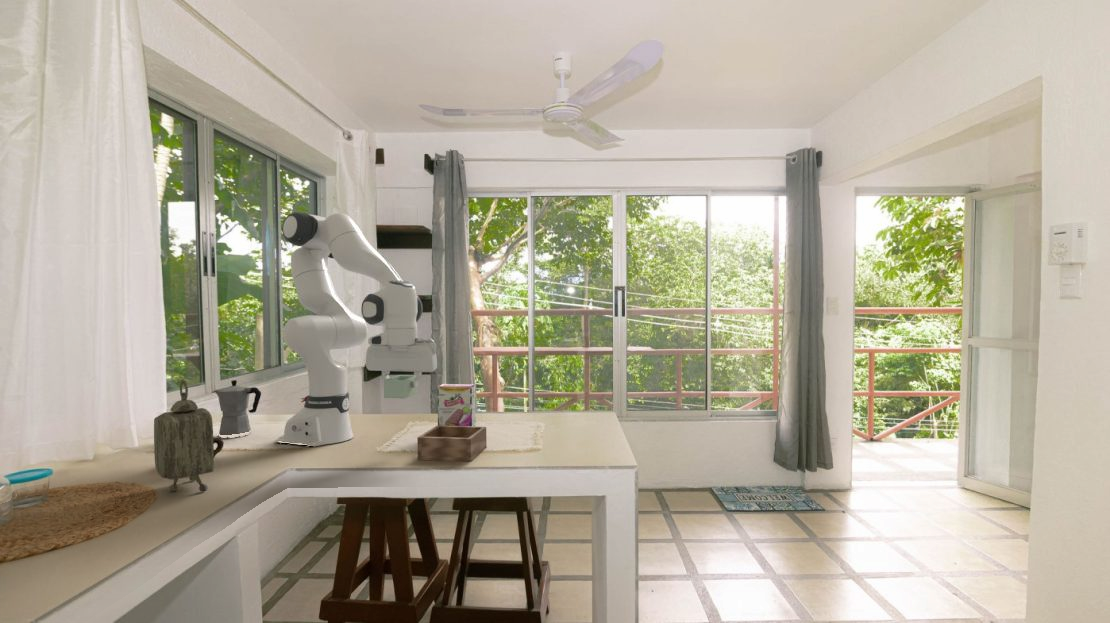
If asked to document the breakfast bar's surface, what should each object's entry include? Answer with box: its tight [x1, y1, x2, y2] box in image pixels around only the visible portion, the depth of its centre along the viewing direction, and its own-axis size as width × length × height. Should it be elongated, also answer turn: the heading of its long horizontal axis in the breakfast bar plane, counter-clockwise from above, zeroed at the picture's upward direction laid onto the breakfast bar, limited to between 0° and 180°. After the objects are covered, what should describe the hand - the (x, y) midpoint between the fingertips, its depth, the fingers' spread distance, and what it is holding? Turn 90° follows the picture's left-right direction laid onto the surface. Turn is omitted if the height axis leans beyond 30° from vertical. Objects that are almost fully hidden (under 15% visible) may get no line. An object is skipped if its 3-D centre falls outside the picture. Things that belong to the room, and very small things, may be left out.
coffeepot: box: [213, 379, 262, 435], centre depth 172 cm, size 15×9×18 cm, turn 88°
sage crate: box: [383, 374, 419, 400], centre depth 150 cm, size 6×9×5 cm, turn 170°
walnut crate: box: [417, 424, 488, 463], centre depth 148 cm, size 15×14×6 cm
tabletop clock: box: [153, 379, 215, 492], centre depth 121 cm, size 14×9×25 cm, turn 45°
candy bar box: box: [437, 383, 477, 427], centre depth 167 cm, size 11×5×16 cm, turn 84°
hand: (401, 387), depth 150 cm, fingers closed on sage crate, 6 cm apart
